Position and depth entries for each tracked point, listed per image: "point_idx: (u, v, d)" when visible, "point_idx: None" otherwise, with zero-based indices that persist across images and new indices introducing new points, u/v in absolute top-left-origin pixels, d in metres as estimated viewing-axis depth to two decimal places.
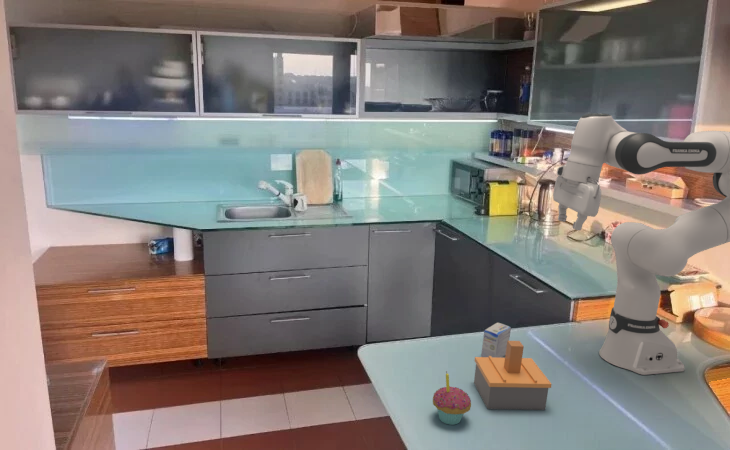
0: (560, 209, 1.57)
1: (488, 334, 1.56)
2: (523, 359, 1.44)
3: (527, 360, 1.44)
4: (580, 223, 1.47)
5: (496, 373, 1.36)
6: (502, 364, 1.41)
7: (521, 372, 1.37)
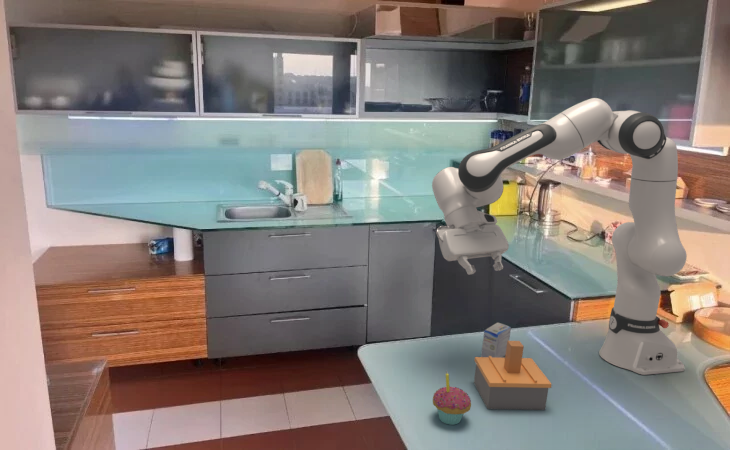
0: (495, 260, 1.48)
1: (488, 334, 1.56)
2: (523, 359, 1.44)
3: (527, 360, 1.44)
4: (467, 266, 1.41)
5: (496, 373, 1.36)
6: (502, 364, 1.41)
7: (521, 372, 1.37)
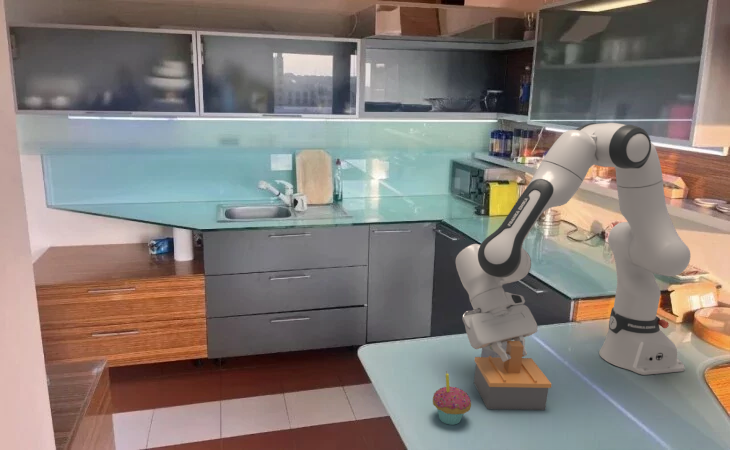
0: None
1: None
2: (523, 359, 1.44)
3: (527, 360, 1.44)
4: (501, 353, 1.36)
5: (496, 373, 1.36)
6: (502, 364, 1.41)
7: (521, 372, 1.37)
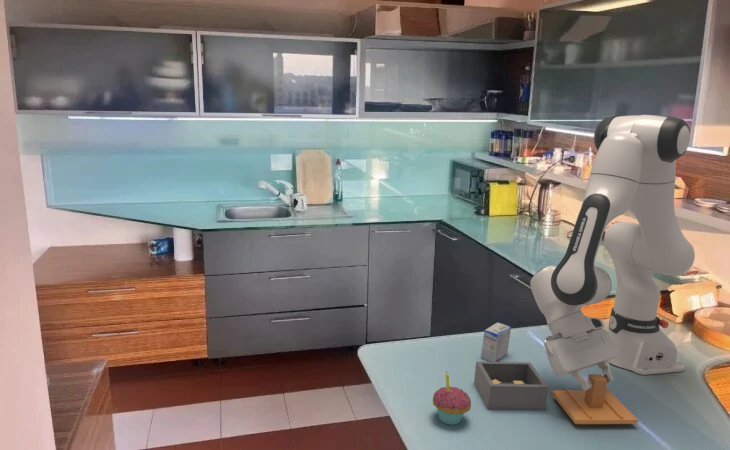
0: (602, 369, 1.37)
1: (488, 334, 1.56)
2: None
3: (605, 392, 1.40)
4: (582, 382, 1.31)
5: (579, 408, 1.32)
6: (582, 398, 1.37)
7: (603, 407, 1.34)
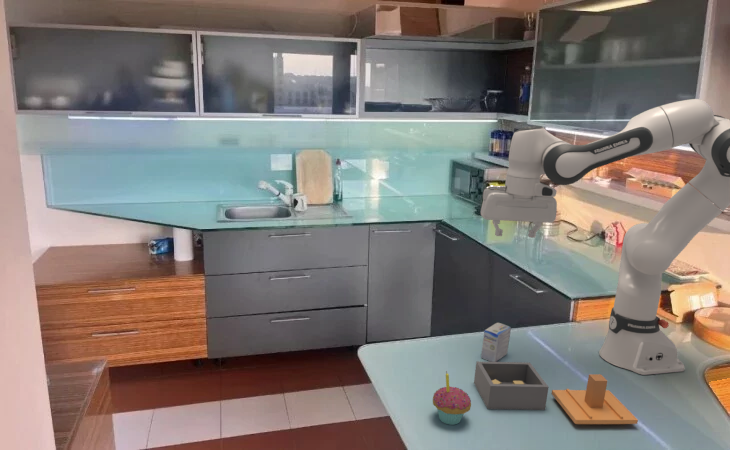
0: (534, 226, 1.57)
1: (488, 334, 1.56)
2: None
3: (605, 392, 1.40)
4: (496, 229, 1.55)
5: (579, 408, 1.32)
6: (582, 398, 1.37)
7: (603, 407, 1.34)
